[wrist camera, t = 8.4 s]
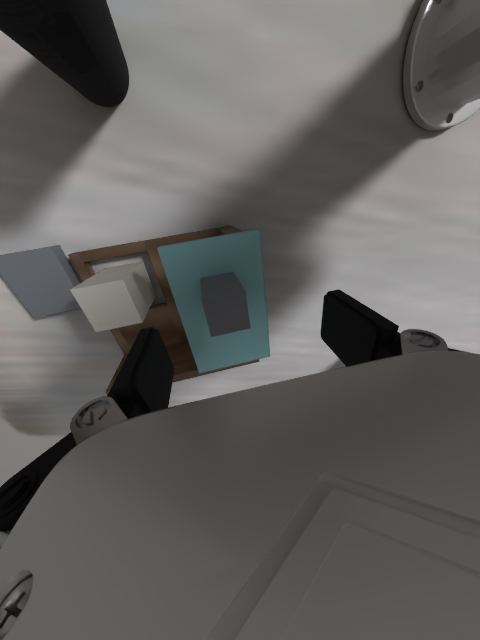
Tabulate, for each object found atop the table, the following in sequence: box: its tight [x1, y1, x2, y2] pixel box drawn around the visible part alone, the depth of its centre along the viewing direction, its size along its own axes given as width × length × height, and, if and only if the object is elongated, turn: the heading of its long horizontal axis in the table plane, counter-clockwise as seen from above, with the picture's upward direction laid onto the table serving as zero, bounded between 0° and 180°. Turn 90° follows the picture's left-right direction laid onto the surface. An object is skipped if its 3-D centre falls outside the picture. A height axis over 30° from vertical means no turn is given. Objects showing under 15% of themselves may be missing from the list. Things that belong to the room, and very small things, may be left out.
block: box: [70, 262, 156, 332], centre depth 22 cm, size 4×4×8 cm
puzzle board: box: [69, 226, 259, 395], centre depth 23 cm, size 15×18×8 cm
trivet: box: [0, 245, 81, 318], centre depth 22 cm, size 7×6×2 cm
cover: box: [157, 229, 270, 373], centre depth 18 cm, size 14×8×6 cm, turn 8°
